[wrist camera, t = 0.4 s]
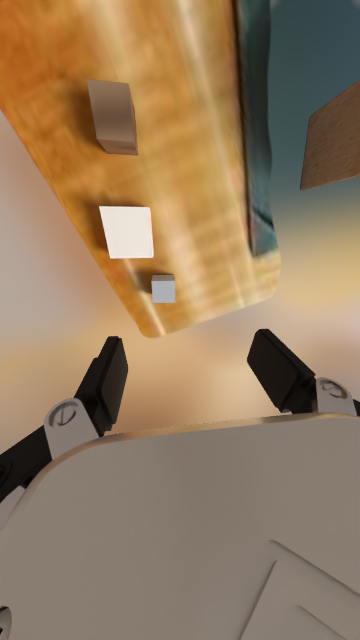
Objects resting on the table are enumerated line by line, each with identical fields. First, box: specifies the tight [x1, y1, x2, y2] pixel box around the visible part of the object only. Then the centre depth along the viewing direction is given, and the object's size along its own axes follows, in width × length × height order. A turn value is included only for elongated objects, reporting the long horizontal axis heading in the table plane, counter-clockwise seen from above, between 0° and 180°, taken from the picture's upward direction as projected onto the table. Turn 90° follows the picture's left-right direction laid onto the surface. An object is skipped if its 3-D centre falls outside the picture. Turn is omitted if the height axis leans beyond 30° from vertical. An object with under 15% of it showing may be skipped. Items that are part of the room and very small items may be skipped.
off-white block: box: [99, 206, 154, 258], centre depth 30 cm, size 8×8×5 cm
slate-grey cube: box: [151, 275, 175, 303], centre depth 36 cm, size 5×5×5 cm
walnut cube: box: [86, 79, 138, 155], centre depth 22 cm, size 5×5×5 cm
